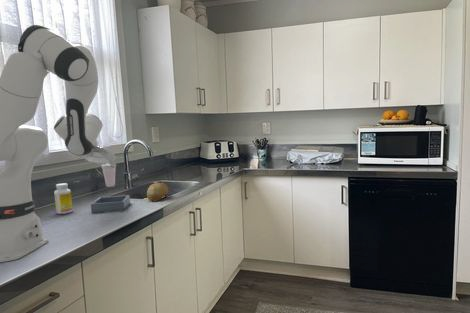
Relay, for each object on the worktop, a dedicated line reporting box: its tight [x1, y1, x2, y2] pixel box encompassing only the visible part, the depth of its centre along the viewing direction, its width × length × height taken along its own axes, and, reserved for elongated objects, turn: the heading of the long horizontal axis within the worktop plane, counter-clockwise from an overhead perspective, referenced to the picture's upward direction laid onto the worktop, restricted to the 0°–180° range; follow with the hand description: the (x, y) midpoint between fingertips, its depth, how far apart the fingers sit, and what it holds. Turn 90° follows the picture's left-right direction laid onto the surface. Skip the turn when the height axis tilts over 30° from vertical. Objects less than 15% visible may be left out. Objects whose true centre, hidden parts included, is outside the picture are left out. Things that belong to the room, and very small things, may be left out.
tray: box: [90, 194, 131, 214], centre depth 159 cm, size 14×14×4 cm
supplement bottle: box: [53, 182, 74, 215], centre depth 155 cm, size 7×7×13 cm
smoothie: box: [100, 163, 117, 188], centre depth 158 cm, size 6×6×14 cm
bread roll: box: [146, 182, 169, 202], centre depth 175 cm, size 10×15×8 cm, turn 172°
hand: (110, 166), depth 158 cm, fingers closed on smoothie, 6 cm apart
